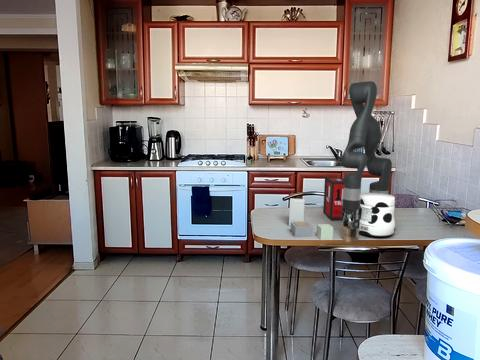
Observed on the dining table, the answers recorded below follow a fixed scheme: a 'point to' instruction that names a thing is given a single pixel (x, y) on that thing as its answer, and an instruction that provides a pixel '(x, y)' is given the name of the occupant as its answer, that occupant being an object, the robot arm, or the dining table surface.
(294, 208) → the supplement box
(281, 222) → the dining table surface
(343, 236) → the tan wooden cube
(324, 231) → the sage green block
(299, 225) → the grey base block
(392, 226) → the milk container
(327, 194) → the cleaning product box
